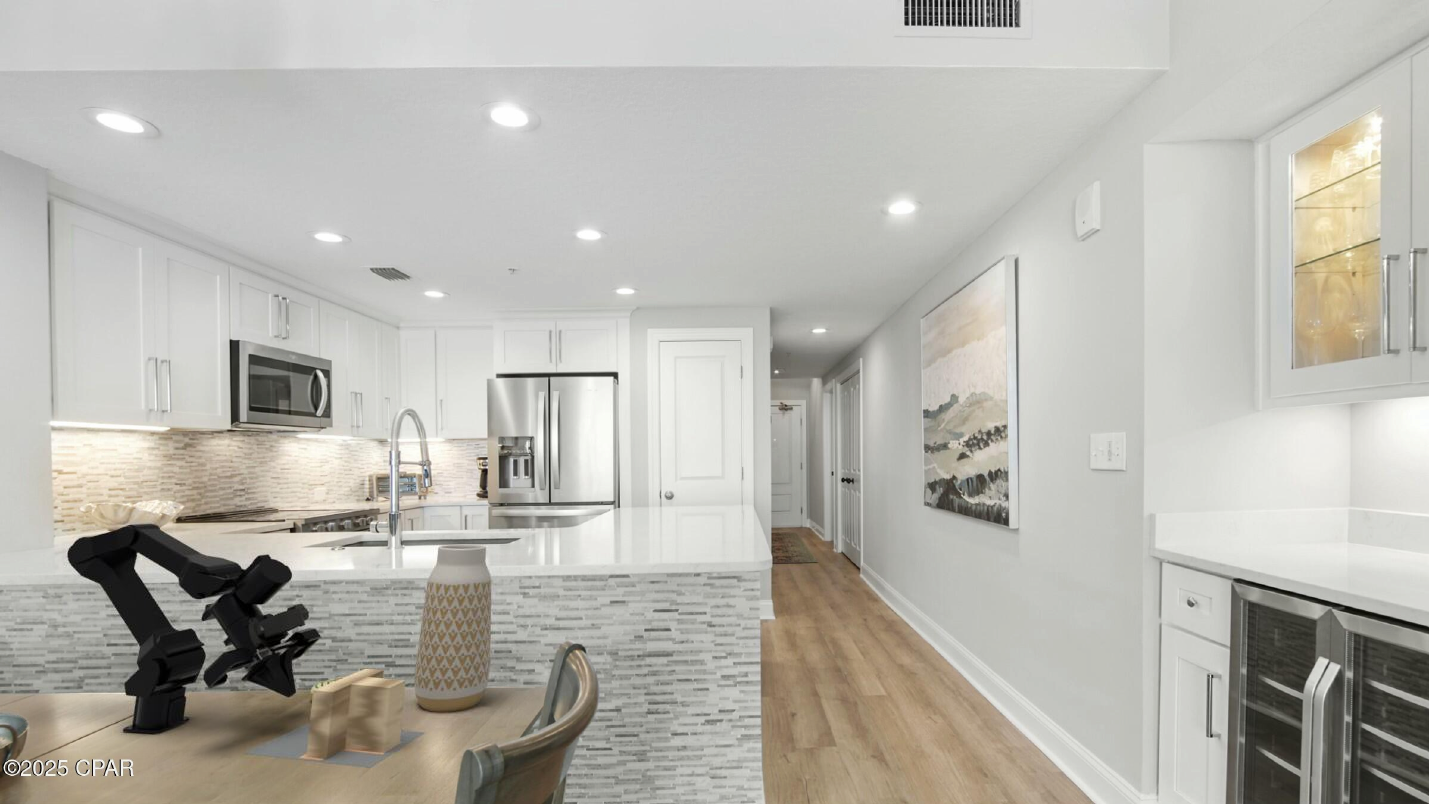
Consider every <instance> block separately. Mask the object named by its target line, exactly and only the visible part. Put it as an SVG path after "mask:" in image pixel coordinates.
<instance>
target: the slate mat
mask: <svg viewBox="0 0 1429 804" xmlns="http://www.w3.org/2000/svg"><path fill="white" fill-rule="evenodd" d="M309 728H310V722H308V723H306V724H303V725H302V726H299V727H297V728H294V729H293V730H291V731H288V732H287V733H284V734H283V735H280V736H279V737H276V738H274V739H272V740H270V741H268V742H265V743H263V744H261V745H259V746H257V747H255V748H252V749H250V750H248V751H247V752H246V751H245V752H244V754H245V755H252V756H253V755H255V756H260V757H261V756H262V757H270V758H271V757H272V758H281V759H290V760H298V761H306V762H314V763H324V764H325V763H326V764H331V765H332V764H333V765H342V766H351V767H359V768H366V769H367V768H369V769H371V768H372V767H374V766H376V765H377V764H379V763H380V762H382V761H384V760H385V759H386V758H388V757H390V756H392V755H393V754H394V753H396V752H398V751H399V750H400V749H403V748H404V747H406V746H407V745H409V744H410V743H412V742H413V741H415V740H416V739H418V738H419V737H421V736H423V735H425V734H426V732H423V731H414V730H413V731H412V730H402V729H401V738H400V742H402V743H400V744H399V745H397V746H395V747H394V748H392V749H391V750H389V751H387V752H386V753H384V754H383V755H382V754H373V753H364V752H355V751H346V750H342V751H340V752H339V753H337V754H335V755H333V756H331V757H330V758H328V759H323V760H313V759H304V758H299V757H301V756H303V755H305V754H307V747H308V738H309Z"/></svg>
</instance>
